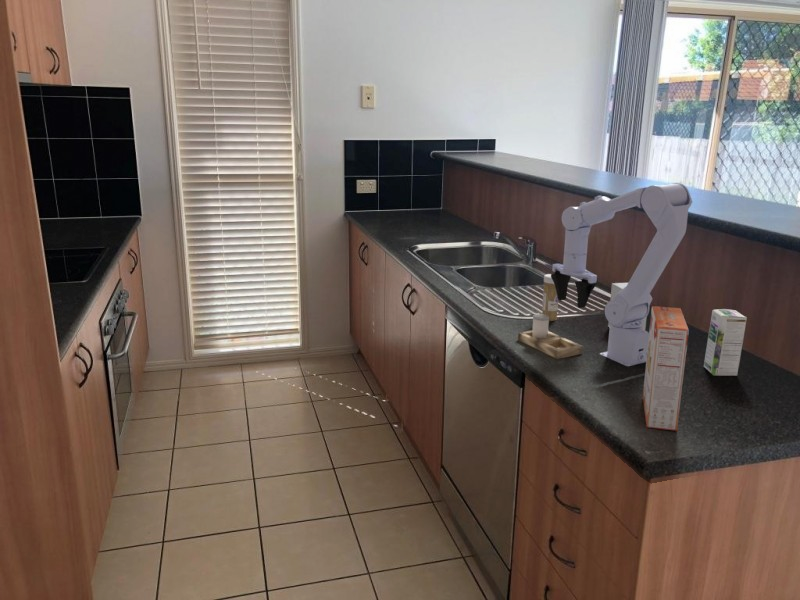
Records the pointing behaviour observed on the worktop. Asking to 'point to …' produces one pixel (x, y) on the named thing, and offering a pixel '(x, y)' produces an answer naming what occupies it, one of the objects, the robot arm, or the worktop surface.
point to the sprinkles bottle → (550, 298)
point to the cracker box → (665, 367)
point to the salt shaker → (540, 326)
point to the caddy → (552, 344)
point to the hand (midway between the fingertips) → (571, 303)
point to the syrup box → (725, 342)
